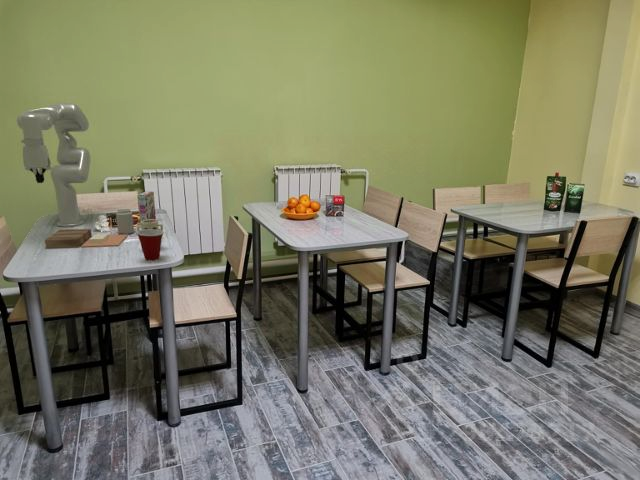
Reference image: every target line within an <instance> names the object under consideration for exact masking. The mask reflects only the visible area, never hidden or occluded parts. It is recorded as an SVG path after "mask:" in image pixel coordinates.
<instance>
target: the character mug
mask: <svg viewBox="0 0 640 480" xmlns="http://www.w3.org/2000/svg"><path fill="white" fill-rule="evenodd" d="M140 229H141V230H145V229H156V230H161V231H164V225H163V223H159V221H158V219H157V218H156V219H147V220H143V221H141V225H140V224H139V225H136V232H137V231H139V230H140Z"/></svg>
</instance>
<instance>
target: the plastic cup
mask: <svg viewBox="0 0 640 480" xmlns="http://www.w3.org/2000/svg"><path fill="white" fill-rule="evenodd" d="M136 235H137V237H138V240H139V243H140V246H141V249H142V253H143V256H144V259H145V260H146V261H148V260H152V261H157V260H159V259H160V256H161V247H162V239H163V235H164V230H163V231H161V230H156V229H145V230H142V229H139V231H137V230H136ZM156 259H157V260H156Z"/></svg>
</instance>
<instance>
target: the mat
mask: <svg viewBox="0 0 640 480" xmlns="http://www.w3.org/2000/svg"><path fill="white" fill-rule="evenodd" d="M127 237H129V234H127V235H122V234H109V238H108V239H107V240H106V241H105V242H104V243H89V239H88V240H87V241H86V242H85V243H84V244H83V245H81V246H80V248H102V247H103V248H105V247H110V248H111V247H119V246H120V245H122V243H123V242H124V241H125V240H126V238H127Z"/></svg>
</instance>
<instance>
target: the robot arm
mask: <svg viewBox="0 0 640 480" xmlns="http://www.w3.org/2000/svg"><path fill="white" fill-rule="evenodd" d="M16 121H17V122H16V123H17V126H18V127H19V128H20V129H21V130H22V134H23V139H21V141H20V142H21V144H24V145H23V146H22V160H23V161H22V162H23V166H24V169H25V170H26V171H30V172H31V173H33V174H34V177H35V181H36V183H37V184H43V183H44V181H45V175H44V174H45V173H46V171H50V172H49V173H50V177H51V180H52V183H53V187H54V190H55V191H54V192H55V197H56V204H57V211H58V217H59V221H58V222H56V226H57V227H66V228H67V227H77V226H81V225H82V224H84V220H83V219H80V216H81V214H80V213H79V205H78V199H77V198H78V196H77V192H76V189H75V188H74V186H73V185H72V184H84V183H86V182H87V181H88V178H89V175H90V174H89V172H90V166H91V154H90V151H89V150H88V149H87V147H86V148H85V147H77V146H78V142H77V140H76V138H75V137H74V136H73V135H72V134H70V133H71V132H74V133H76V132H77V133H79V132H80V133H81V132H83V133H84V132H86V131H88V130H89V128H90V124H89V121H88V118H87V116H86V114H84V111H83V110H82V108H80V107H79V105H77V104H76V103H74V102H73V103H72V102H55V103H52V104H50V105H48V106H45V107H40V108H37V109H30V110H25V111H23V112H20V114H18V116H17V118H16ZM52 128H54V131H55V133H56V136H57V137H58V146H57V147H58V148H57V153H56V162H57V163H58V164H57V165H54V166H52V165H51V159H50V153H49V151H48V148H47V145H45V142H44V141H45V140H44V136H43V135H44V134H43V131H48V130H51V129H52ZM51 166H52V167H51Z"/></svg>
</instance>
